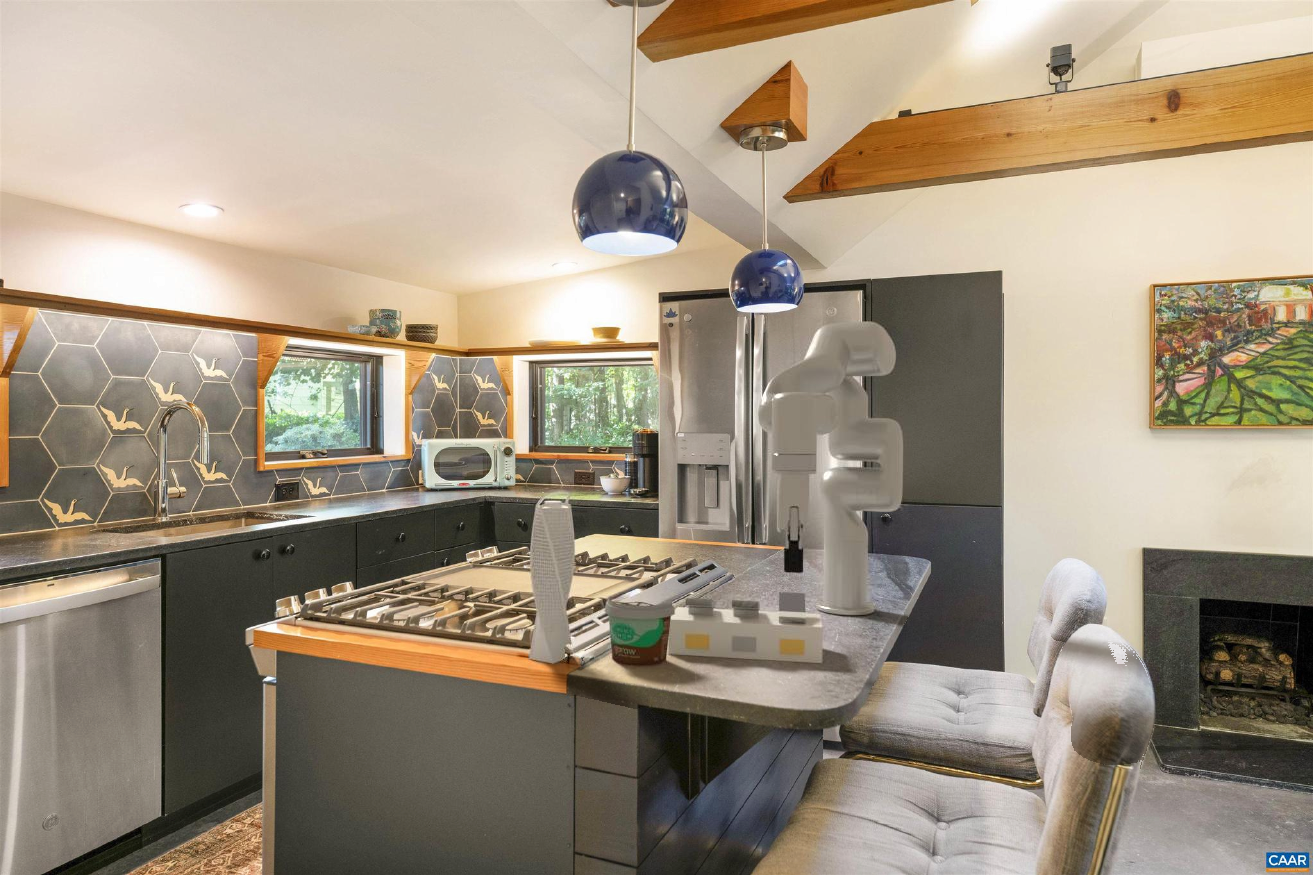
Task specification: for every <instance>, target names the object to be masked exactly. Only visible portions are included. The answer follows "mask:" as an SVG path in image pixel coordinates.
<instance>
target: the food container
mask: <svg viewBox="0 0 1313 875" xmlns="http://www.w3.org/2000/svg"><path fill="white" fill-rule="evenodd" d="M674 606H675V605H673V601H670V602H665V603H663V604H652V603H649V602H648V603H647V602H643V601H633V602H624V601H623V602H621V601H613V600H612V596H608V597H607V601H606V602H605V606H604V613H605V614H606V615H608V622H609V623H608V624H609V634H610V635H609V637H610V645H611V646H610V648H611V660H613V661H614V663H617V664H619V665H625V666H629V667H650V666H656V665H660V664H663V663H664V662H666V661H667V654H668V648H669V629H670V620H671V615H674V614H675V607H674Z"/></svg>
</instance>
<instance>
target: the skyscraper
mask: <svg viewBox="0 0 1313 875" xmlns="http://www.w3.org/2000/svg"><path fill="white" fill-rule="evenodd" d="M560 494H561V495H563V494H564V495H567V496H566V499H565V502H562V500H561V501H560V500H546V501H545V499H546V498H548V497H550V496H553V495H560ZM571 496H572V493H571V492H570V491H568V490H567V491H566V490H556V491H550V492H548V493H545V494H544V495H543V496H542V497H540V499H539V500H538V502H536V504H535V508H534V516H533V520H532V521H533V522H532V527H531V528H532V529H531V537H530V546H529V547H530V548H529V550H530V552H529V564H530V565H529V567H530V580H531V588H532V594H533V599H534V604H535V609H536V612H535V613H536V614H535V615H536V616H535V620H534V625H533V632H532V637H531V644H530V648H529V649H530V650H529V655H528V660H534V661H538V662H544V663H548V664H551V665H554V664H556V663H560V662H561V661H564V660H565V659H564V657H565V649H564V647H565V645H567V644H570V645H571V644H572V645H573V642H572V637H571V630H570V625H569V624H570V623H569V618H568V617H569V616H568V613H567V603H568V601H569V597H570V591H571V587H572V583H573V577H574V571H575V570H574V569H575V559H576V557H575V556H576V555H575V554H576V548H575V547H576V542H575V530H574V527H575V526H574V520H573V512H572V511H573V510H572V505H571V504H570V503H569V500H570V498H571ZM543 500H544V503H543V504H541V503H542V502H543ZM563 659H564V660H563Z"/></svg>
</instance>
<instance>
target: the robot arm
mask: <svg viewBox="0 0 1313 875" xmlns="http://www.w3.org/2000/svg"><path fill="white" fill-rule="evenodd" d="M896 359H897V352H896V347H895V343H894V341H893V339H892V338H891V336H890V335H889V333H888V332H887V330H886V329H885V328H884V327H883V326H882V325H880V324H879V323H877V322H874V321H851V322H835V323H829V324H825V325H823V326H821V327H820V328H819V329H818V330H817V331H816V332H815V334H814V336H813V337H812V340H811V343H810V344H809V347H808V349H807V351H806V354H805V356H804V358H803V360H801V361H798V362H796V363H794V364H793V365H792V366H791V365H790V366H789V367H787V368H786V369H785V370H783V371H781V372H779V373H777V374H776V375H775V376H774V377H773V378H771V380H770V381H769V382H768V383H767V386H766V388H765V390H764V392H763V394H762V396H761V399H760V401H759V406H758V409H757V411H758V412H757V418H758V419H757V420H758V424H759V425H760V428H761V429H762V430H763V431H764V432H765V433H768V434H770V435H771V473H772V474H777V481H776V482H777V483H776V485H777V486H776V530H777V532H778V533H781V532H782V530H784V531H785V533H784V534H785V547H783V572H784V573H793V574H795V573H796V574H802V573H803V572H804V547H803V534H804V533H805V532H806V531H807V529H808V528H807V527H808V517H809V516H808V515H809V506H810V502H809V501H810V497H809V496H810V475H814V474H815V475H816V474H817V451H818V450H817V449H818V448H817V447H818V445H817V439H818V438H817V436H822V435H827V434H828V435H827V436H828V437H827V439H828V440H827V444H828V450H829V451H828V452H829V454H830V456H831V457H832V458H833V459H835V460H839V461H849V462H875V463H878V464H880V467H864V466H836V467H831V468H829V469H827V470H826V471H825V472H823V473H822V474H821V475H822V476H821V478H820V482H819V488H820V490H819V491H820V496H821V502H822V503H821V505H822V511H823V581H822V582H823V587H822V589H823V593H822V594H823V595H822V596H823V597H822V599H819V600H818V601H816V603H815V608H816V609H817V610H819V611H821V612H824V613H828V614H833V615H842V616H864V615H871V614H873V613H874V612H875V611H876V610H875V608H876V607H875V605H874V604H872V603H871V602H868V568H869V566H868V562H869V561H868V560H869V559H868V558H869V557H868V555H869V553H868V552H869V551H868V550H869V532H868V528H867V525H866V524H865V523H864V521H863V520H862V518H861V517H860V516H859V514H858V513H857V512H881V513H883V512H884V513H887V512H890V513H891V512H894V511H896V510H898V509H899V508H900V506H901V504H902V499H903V490H904V489H903V487H904V486H903V484H904V483H903V482H904V480H903V479H904V477H903V476H904V438H903V437H904V436H903V430H902V428H901V425H900V424H899V422H897V421H896V420H894V418H893V419H892V418H887V417H886V418H883V417H869V396H868V393H867V392H866V390H865V389H864V387H863V386H862V385H861V383H860V382H859V381H858V380H857V379H856V378H855V377H882V376H886V375H889V374H890V373H891V372H892V371H893V369H894V368H895V365H896Z"/></svg>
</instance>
